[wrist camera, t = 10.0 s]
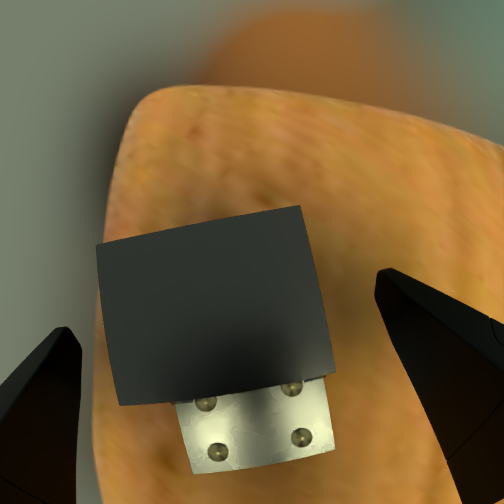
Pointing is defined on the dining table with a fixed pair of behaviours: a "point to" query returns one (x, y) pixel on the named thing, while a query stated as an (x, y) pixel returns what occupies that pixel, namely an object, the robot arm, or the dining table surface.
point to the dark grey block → (213, 309)
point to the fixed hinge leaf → (256, 426)
